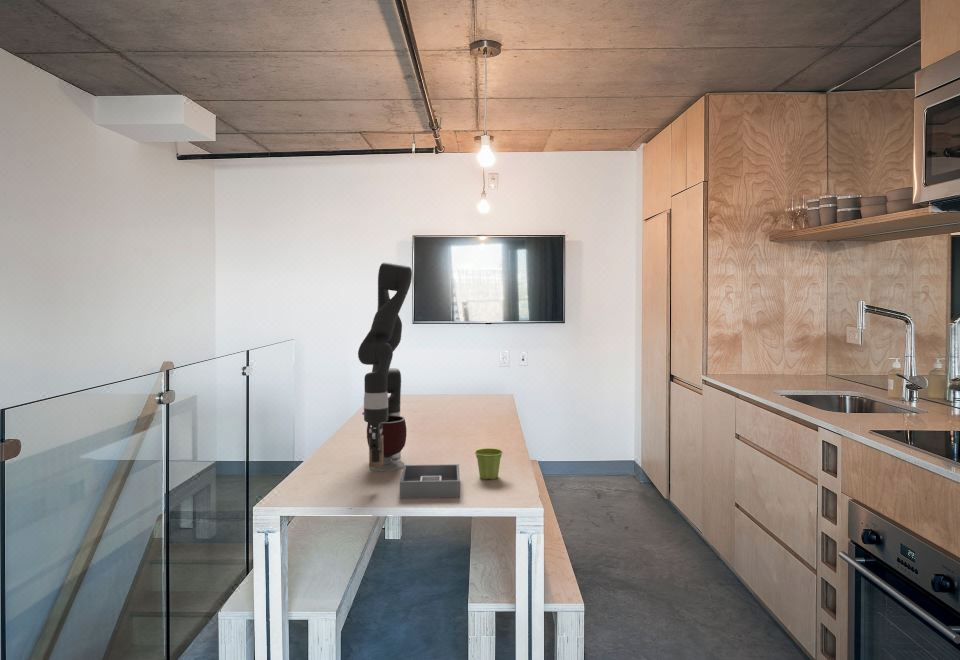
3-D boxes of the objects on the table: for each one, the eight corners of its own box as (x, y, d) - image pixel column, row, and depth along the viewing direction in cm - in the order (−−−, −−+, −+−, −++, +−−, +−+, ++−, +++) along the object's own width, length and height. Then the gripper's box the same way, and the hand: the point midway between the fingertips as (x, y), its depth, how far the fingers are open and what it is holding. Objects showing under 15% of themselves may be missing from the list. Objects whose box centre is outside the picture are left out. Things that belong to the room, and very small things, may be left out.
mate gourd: (401, 459, 228) (401, 405, 227) (411, 469, 215) (410, 412, 214) (359, 463, 223) (358, 408, 221) (366, 474, 210) (366, 416, 209)
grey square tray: (404, 480, 203) (404, 465, 203) (458, 479, 204) (458, 464, 204) (399, 498, 186) (399, 481, 185) (460, 497, 186) (459, 481, 186)
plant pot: (468, 477, 207) (468, 451, 206) (488, 471, 214) (488, 446, 213) (488, 483, 200) (488, 456, 200) (508, 477, 207) (508, 451, 206)
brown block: (370, 463, 197) (370, 435, 196) (383, 463, 197) (383, 435, 196) (369, 467, 193) (369, 438, 192) (382, 466, 193) (382, 438, 192)
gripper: (385, 410, 187) (386, 466, 188) (390, 401, 201) (390, 453, 202) (360, 410, 186) (361, 466, 187) (366, 401, 200) (367, 454, 201)
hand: (376, 459), depth 195 cm, fingers closed on brown block, 4 cm apart
